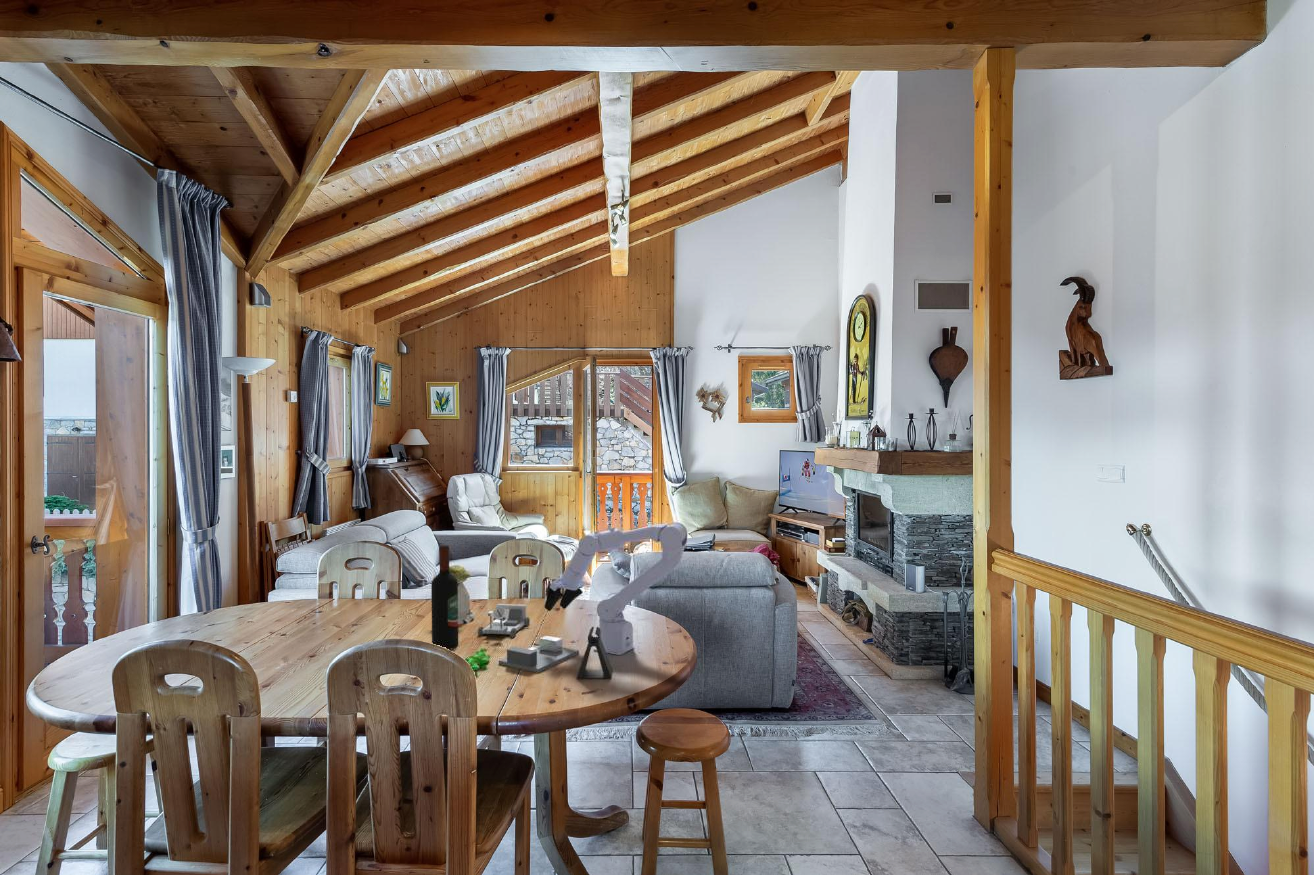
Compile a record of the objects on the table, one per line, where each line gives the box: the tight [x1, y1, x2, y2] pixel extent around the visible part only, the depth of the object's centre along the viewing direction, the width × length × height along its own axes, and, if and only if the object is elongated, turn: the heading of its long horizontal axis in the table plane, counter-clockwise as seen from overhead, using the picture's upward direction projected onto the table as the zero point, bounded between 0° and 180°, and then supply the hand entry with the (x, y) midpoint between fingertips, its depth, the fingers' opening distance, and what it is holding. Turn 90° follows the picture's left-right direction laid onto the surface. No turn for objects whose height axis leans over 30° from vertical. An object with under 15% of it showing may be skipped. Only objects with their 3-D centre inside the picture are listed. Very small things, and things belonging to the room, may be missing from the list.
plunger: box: [533, 635, 563, 653], centre depth 201 cm, size 9×3×3 cm, turn 60°
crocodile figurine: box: [464, 647, 491, 676], centre depth 187 cm, size 7×18×4 cm, turn 168°
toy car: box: [477, 603, 531, 638], centre depth 222 cm, size 18×10×12 cm
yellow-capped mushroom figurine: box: [449, 565, 476, 626], centre depth 236 cm, size 12×13×18 cm
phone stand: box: [576, 626, 613, 680], centre depth 182 cm, size 9×6×12 cm, turn 90°
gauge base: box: [498, 644, 580, 674], centre depth 196 cm, size 14×18×4 cm
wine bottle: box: [430, 544, 459, 650], centre depth 207 cm, size 8×8×30 cm
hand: (554, 607), depth 208 cm, fingers open, 7 cm apart
